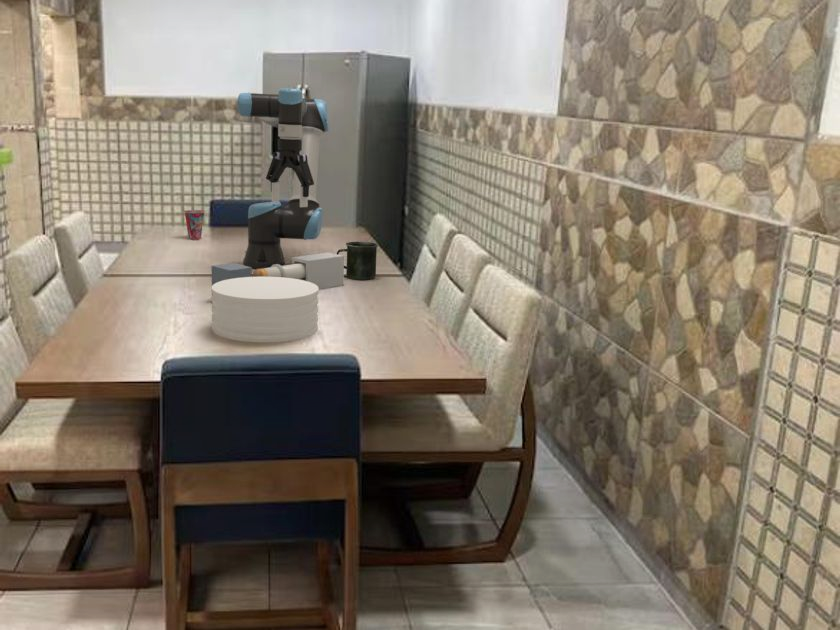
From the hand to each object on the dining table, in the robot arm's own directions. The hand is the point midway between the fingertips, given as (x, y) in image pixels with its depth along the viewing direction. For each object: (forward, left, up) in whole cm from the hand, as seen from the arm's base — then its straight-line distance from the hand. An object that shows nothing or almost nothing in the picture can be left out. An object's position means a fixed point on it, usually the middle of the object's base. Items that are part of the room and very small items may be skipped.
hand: (289, 204), depth 274 cm
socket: (+8, -29, -27) cm, 40 cm away
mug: (+5, +27, -27) cm, 39 cm away
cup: (-94, +28, -27) cm, 102 cm away
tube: (+8, -3, -24) cm, 25 cm away
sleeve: (+8, +6, -27) cm, 28 cm away
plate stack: (+39, -41, -27) cm, 62 cm away
